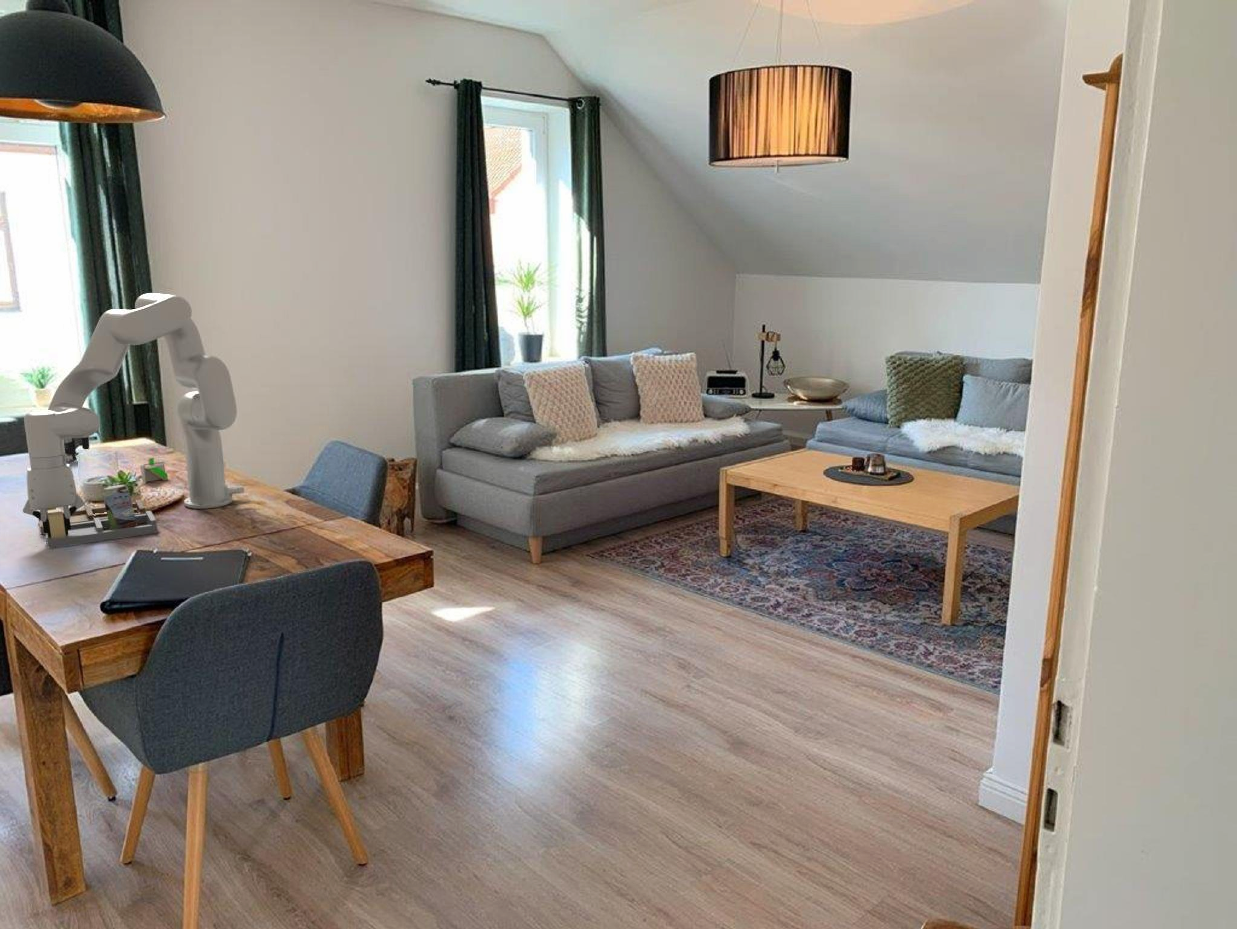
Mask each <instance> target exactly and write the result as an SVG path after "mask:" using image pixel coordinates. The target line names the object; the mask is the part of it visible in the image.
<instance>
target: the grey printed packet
mask: <svg viewBox="0 0 1237 929" xmlns="http://www.w3.org/2000/svg"><path fill="white" fill-rule="evenodd" d="M101 496H102V500H103V504H104V506H105V508H106V512H107V515H106V517H108V521H109V525H110V527H109V529H110V530H115V529H122V528H130V527H137V526H138V524H137V523H136V519H135V514H134V513H135V511H134V510H133V506H132V503H133V501H132V498H131V494H130V490H129V488H128V487H127V486H126V484H117V485H112V486H107V487H104V488H103V492H102V494H101Z"/></svg>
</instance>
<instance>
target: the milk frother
mask: <svg viewBox="0 0 1237 929" xmlns="http://www.w3.org/2000/svg"><path fill="white" fill-rule="evenodd" d="M63 441H64V449H65V454H67V455H72V458H73V460H69V461H68V462H71V461H74V460H76V459H77V458H76V457H77V456H76V454H77V452H76V451H77V449H78V447H79V445H80V444H79V442H75V438H66V439H63ZM81 447H82V449H83V450H84V449H88V450H89V449H90V436H89V437H85V438H81Z"/></svg>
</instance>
